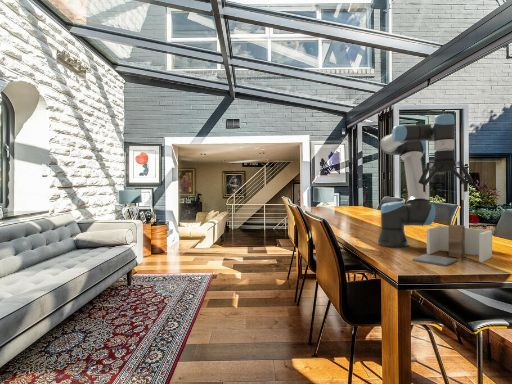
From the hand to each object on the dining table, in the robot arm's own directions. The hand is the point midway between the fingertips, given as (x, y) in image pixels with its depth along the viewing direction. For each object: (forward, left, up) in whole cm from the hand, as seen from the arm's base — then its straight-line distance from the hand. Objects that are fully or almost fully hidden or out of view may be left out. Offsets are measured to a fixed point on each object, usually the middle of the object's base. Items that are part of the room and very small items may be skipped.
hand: (444, 199), depth 139 cm
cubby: (-10, +9, -27) cm, 30 cm away
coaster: (+1, -5, -27) cm, 27 cm away
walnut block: (-9, +8, -27) cm, 29 cm away
